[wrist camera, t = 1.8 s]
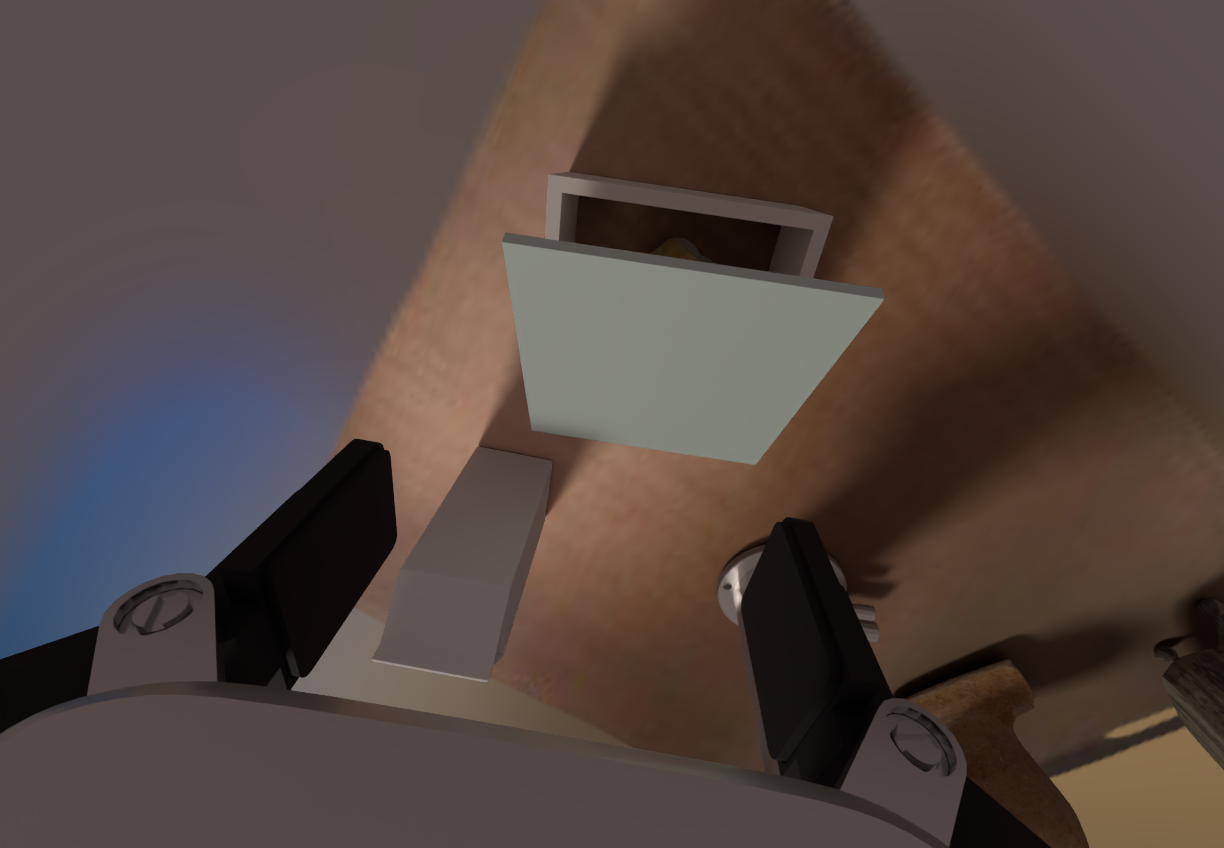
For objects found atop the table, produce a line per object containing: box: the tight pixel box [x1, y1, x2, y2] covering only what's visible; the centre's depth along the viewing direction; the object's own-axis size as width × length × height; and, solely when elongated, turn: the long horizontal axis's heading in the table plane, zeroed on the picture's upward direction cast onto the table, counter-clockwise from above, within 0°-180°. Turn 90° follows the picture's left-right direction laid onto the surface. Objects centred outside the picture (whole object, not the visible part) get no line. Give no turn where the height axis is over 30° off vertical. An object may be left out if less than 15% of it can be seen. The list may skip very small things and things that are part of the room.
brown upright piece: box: [905, 659, 1089, 848], centre depth 48 cm, size 15×12×15 cm
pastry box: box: [545, 172, 834, 278], centre depth 32 cm, size 16×16×7 cm
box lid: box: [502, 233, 884, 465], centre depth 26 cm, size 16×16×1 cm
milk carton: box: [372, 447, 553, 682], centre depth 37 cm, size 7×7×19 cm
